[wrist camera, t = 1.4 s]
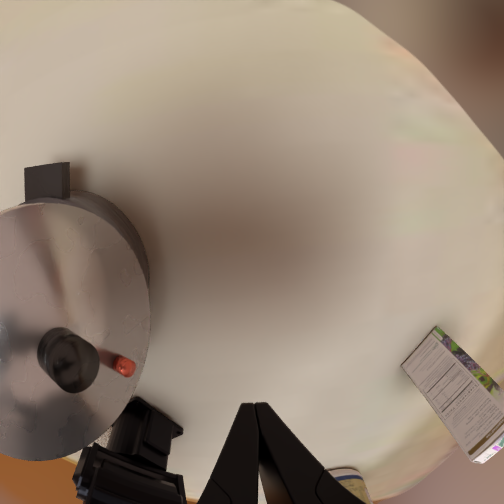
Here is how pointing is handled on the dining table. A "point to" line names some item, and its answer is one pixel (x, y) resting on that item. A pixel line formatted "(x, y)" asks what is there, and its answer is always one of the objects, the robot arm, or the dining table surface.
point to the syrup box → (459, 394)
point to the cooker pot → (80, 203)
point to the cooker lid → (66, 329)
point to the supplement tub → (352, 483)
